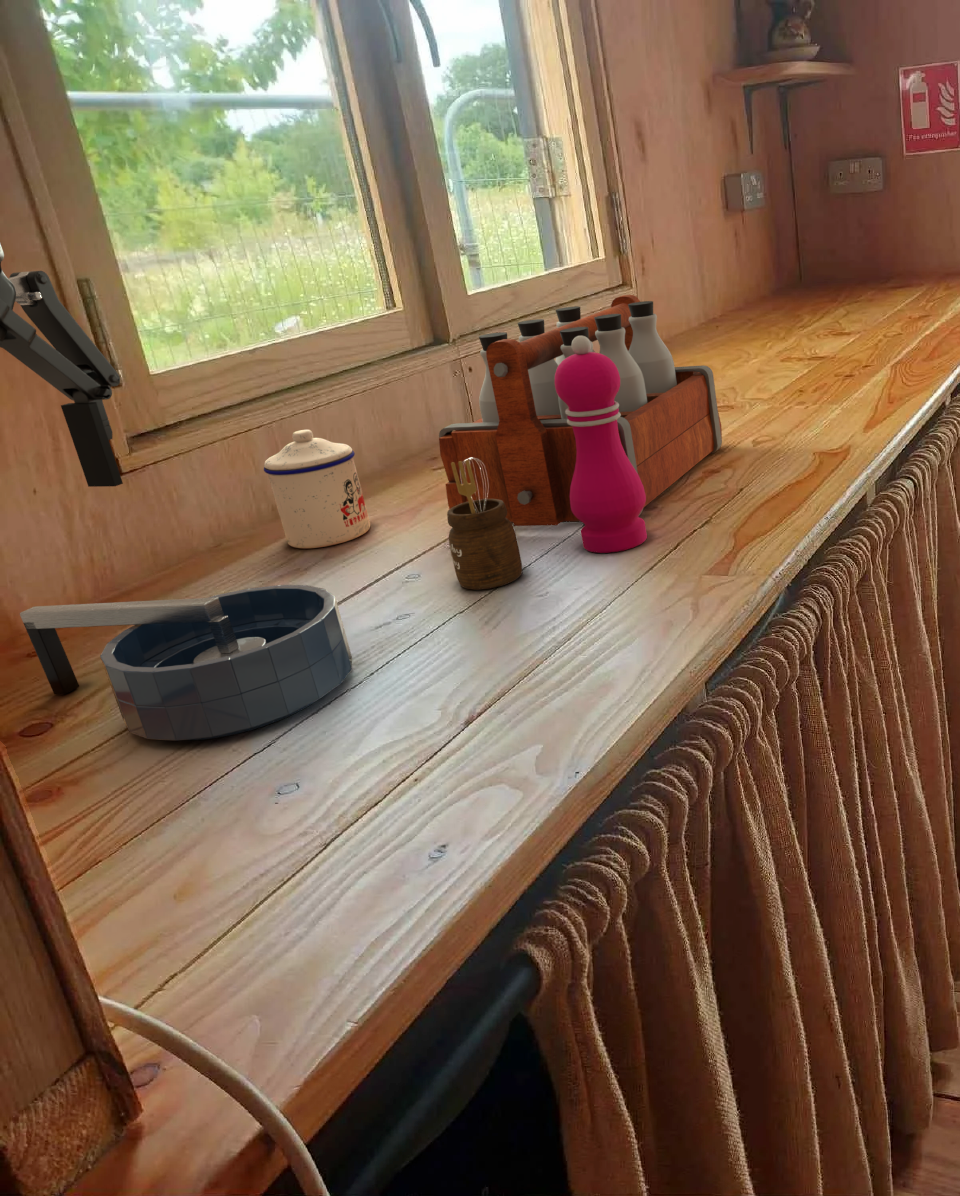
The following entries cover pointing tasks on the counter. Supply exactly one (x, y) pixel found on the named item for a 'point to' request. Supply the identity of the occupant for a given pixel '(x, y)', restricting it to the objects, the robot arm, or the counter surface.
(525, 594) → the counter surface
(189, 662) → the bowl
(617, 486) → the pepper mill
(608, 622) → the counter surface
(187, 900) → the counter surface
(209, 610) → the bent grey beam
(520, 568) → the utensil holder
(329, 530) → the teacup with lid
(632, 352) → the milk bottle holder
